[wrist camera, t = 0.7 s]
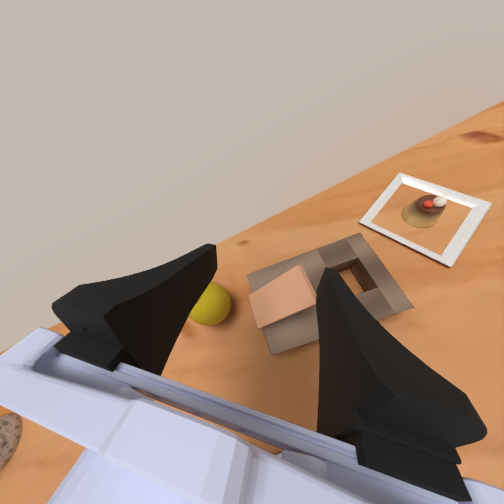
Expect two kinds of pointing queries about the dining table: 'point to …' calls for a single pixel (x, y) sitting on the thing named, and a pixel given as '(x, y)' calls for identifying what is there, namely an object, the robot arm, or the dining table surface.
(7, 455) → the mug
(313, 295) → the bar
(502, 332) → the dining table surface
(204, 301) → the lemon
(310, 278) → the socket block
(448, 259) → the dessert
